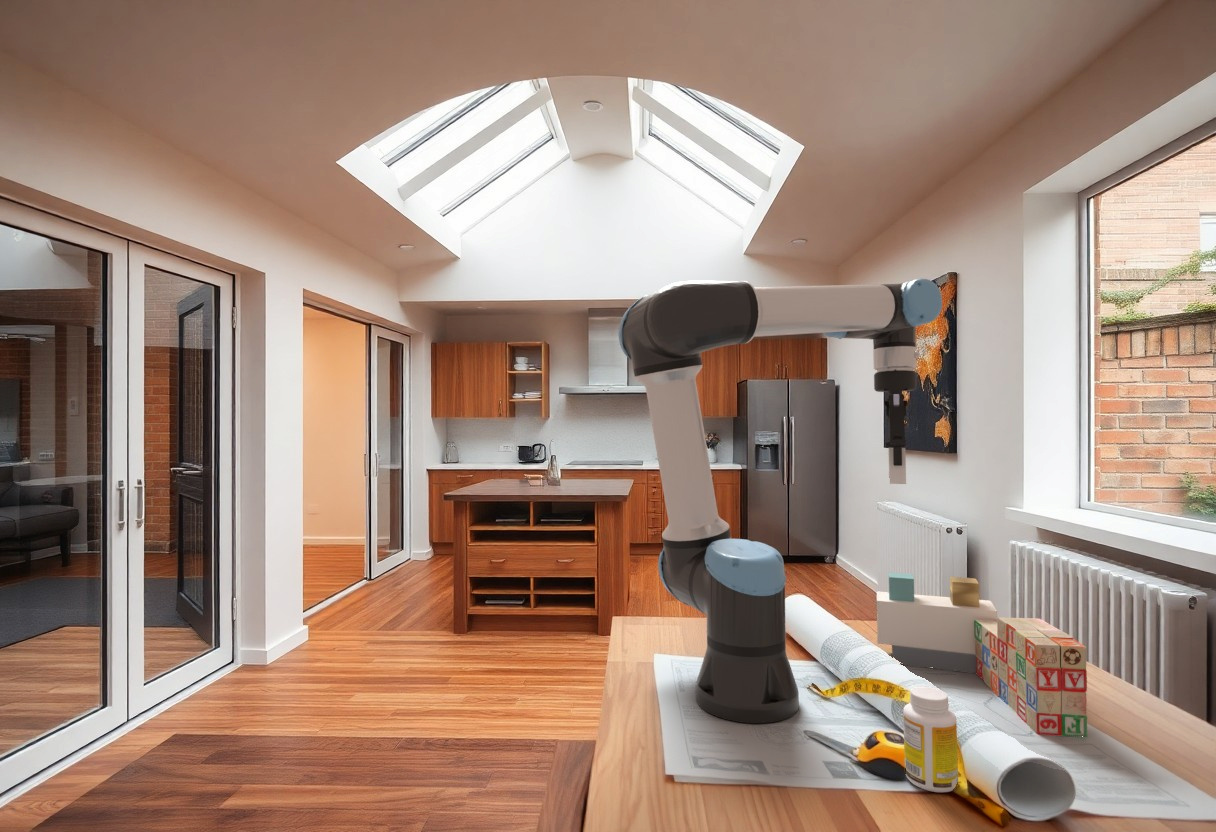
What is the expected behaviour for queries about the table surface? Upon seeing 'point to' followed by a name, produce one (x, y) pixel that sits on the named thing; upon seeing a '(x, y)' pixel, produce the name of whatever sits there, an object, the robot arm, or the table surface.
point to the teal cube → (901, 587)
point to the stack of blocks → (1035, 673)
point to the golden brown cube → (964, 591)
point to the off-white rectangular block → (930, 623)
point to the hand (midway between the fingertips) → (897, 481)
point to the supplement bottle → (930, 740)
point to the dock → (935, 658)
